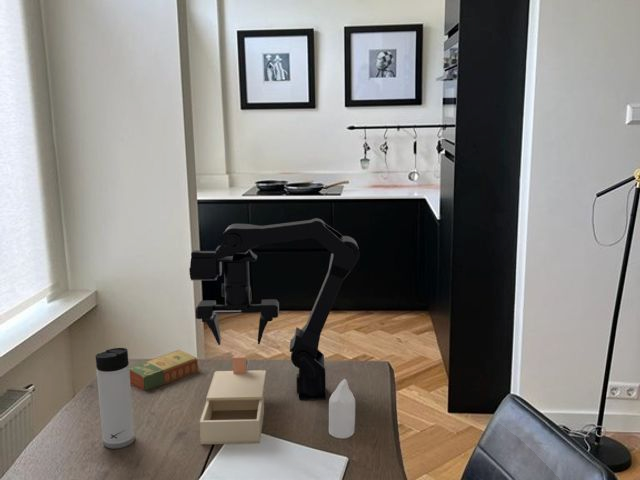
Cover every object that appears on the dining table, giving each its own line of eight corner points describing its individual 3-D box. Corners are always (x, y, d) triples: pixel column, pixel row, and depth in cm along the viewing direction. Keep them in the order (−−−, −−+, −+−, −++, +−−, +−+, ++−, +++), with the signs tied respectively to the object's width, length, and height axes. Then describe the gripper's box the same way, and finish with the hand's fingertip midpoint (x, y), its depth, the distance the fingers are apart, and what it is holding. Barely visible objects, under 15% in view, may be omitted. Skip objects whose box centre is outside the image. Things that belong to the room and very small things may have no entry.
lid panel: (265, 372, 150) (265, 354, 149) (262, 399, 136) (261, 379, 135) (215, 373, 149) (214, 355, 148) (206, 400, 136) (205, 380, 135)
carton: (198, 372, 164) (197, 357, 163) (144, 392, 153) (143, 376, 152) (180, 363, 170) (179, 348, 169) (126, 382, 158) (125, 367, 157)
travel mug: (118, 452, 125) (110, 358, 121) (96, 443, 129) (88, 352, 125) (142, 438, 131) (135, 348, 126) (120, 430, 134) (113, 342, 130)
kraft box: (264, 410, 142) (263, 390, 141) (259, 443, 128) (259, 420, 127) (210, 411, 142) (209, 391, 141) (200, 444, 128) (199, 422, 127)
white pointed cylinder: (326, 373, 133) (353, 371, 133) (327, 425, 135) (353, 423, 136) (330, 385, 127) (357, 383, 128) (330, 439, 129) (357, 438, 130)
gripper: (279, 270, 152) (280, 331, 155) (201, 271, 152) (204, 332, 155) (277, 282, 141) (278, 348, 144) (193, 283, 141) (197, 349, 144)
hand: (239, 344), depth 147 cm, fingers open, 9 cm apart
